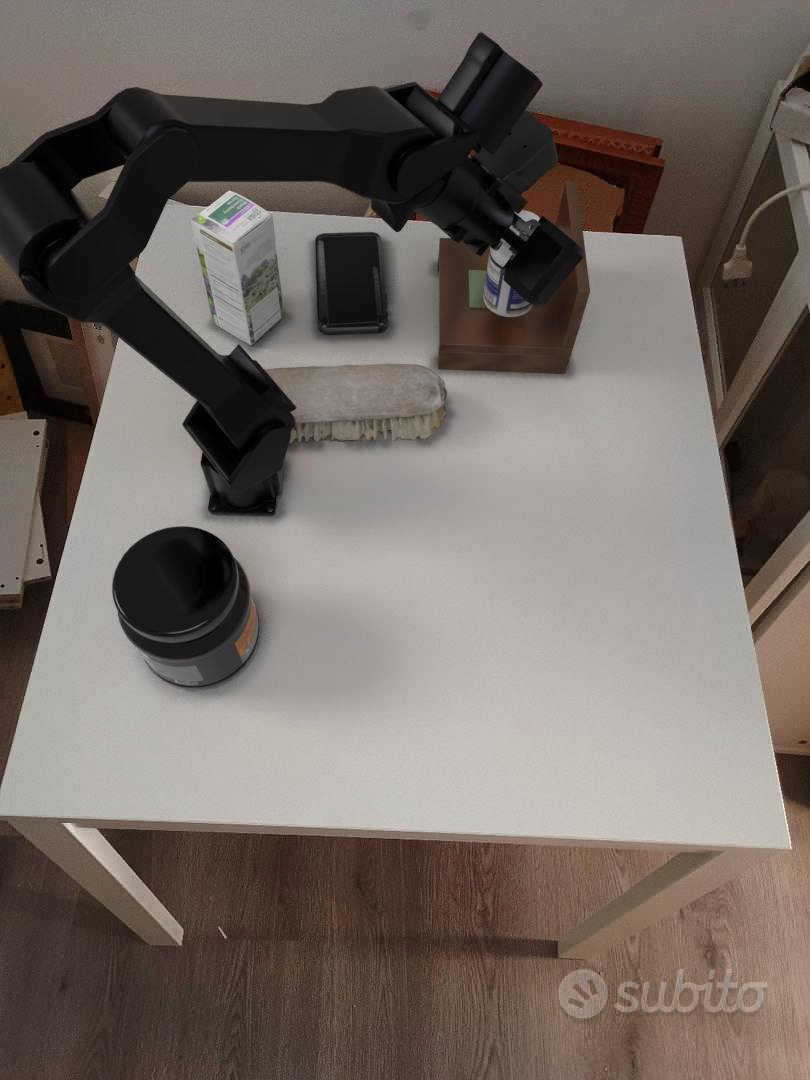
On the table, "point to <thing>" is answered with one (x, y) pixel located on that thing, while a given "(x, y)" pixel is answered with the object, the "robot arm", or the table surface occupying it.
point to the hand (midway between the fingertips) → (527, 244)
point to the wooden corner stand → (509, 341)
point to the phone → (350, 283)
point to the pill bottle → (496, 289)
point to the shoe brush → (363, 400)
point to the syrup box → (239, 266)
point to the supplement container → (186, 607)
